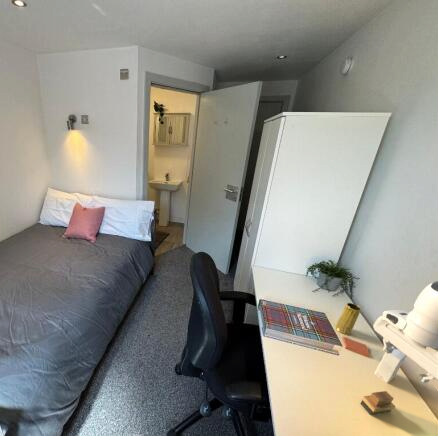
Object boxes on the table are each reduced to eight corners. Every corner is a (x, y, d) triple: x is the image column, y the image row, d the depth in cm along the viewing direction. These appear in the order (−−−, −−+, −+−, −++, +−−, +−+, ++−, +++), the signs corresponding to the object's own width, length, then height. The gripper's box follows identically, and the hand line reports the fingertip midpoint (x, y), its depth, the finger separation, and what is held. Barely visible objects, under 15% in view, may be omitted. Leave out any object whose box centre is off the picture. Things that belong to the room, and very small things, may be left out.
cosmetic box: (387, 384, 87) (401, 361, 82) (372, 373, 91) (385, 351, 86) (394, 377, 89) (408, 355, 85) (380, 367, 93) (392, 345, 89)
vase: (349, 328, 111) (360, 305, 106) (352, 337, 106) (363, 313, 101) (334, 322, 114) (344, 300, 109) (335, 331, 109) (346, 307, 104)
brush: (378, 400, 81) (386, 388, 79) (391, 412, 78) (399, 400, 75) (359, 402, 80) (366, 390, 78) (371, 415, 77) (378, 403, 74)
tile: (365, 346, 102) (366, 344, 101) (368, 357, 97) (370, 355, 97) (342, 338, 106) (343, 336, 105) (345, 348, 101) (346, 346, 100)
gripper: (486, 365, 57) (457, 400, 62) (395, 306, 76) (378, 337, 81) (466, 367, 56) (438, 403, 61) (378, 307, 75) (362, 338, 80)
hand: (403, 365), depth 71 cm, fingers open, 8 cm apart
